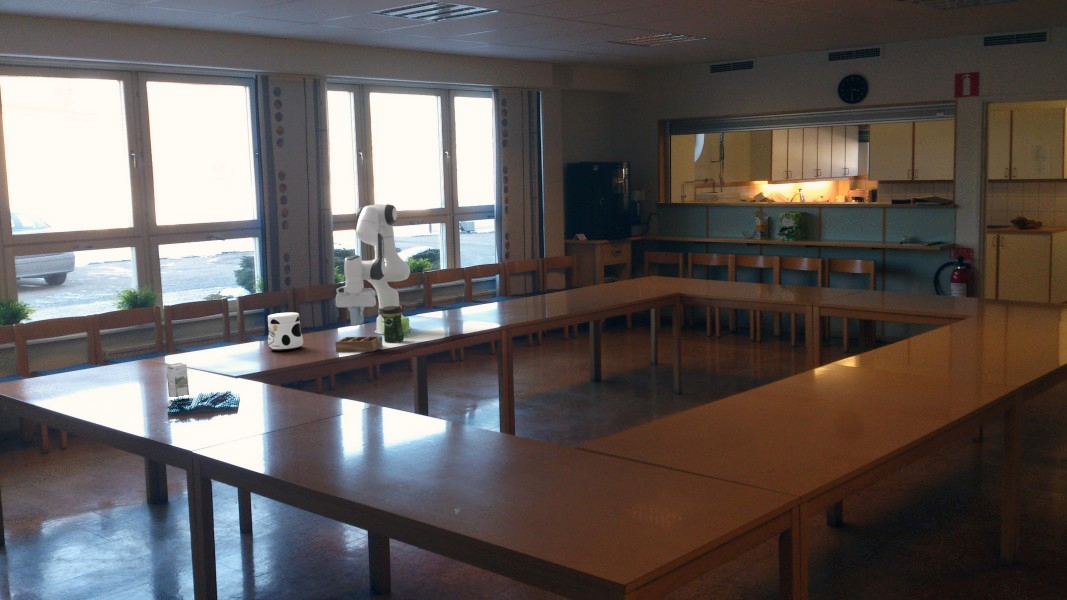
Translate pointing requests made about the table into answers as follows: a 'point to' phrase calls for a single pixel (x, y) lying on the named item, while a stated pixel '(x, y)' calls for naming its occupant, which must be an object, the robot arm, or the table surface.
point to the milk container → (284, 332)
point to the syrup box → (177, 380)
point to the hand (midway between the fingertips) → (356, 315)
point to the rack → (358, 344)
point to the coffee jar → (392, 324)
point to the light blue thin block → (356, 316)
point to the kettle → (404, 325)
